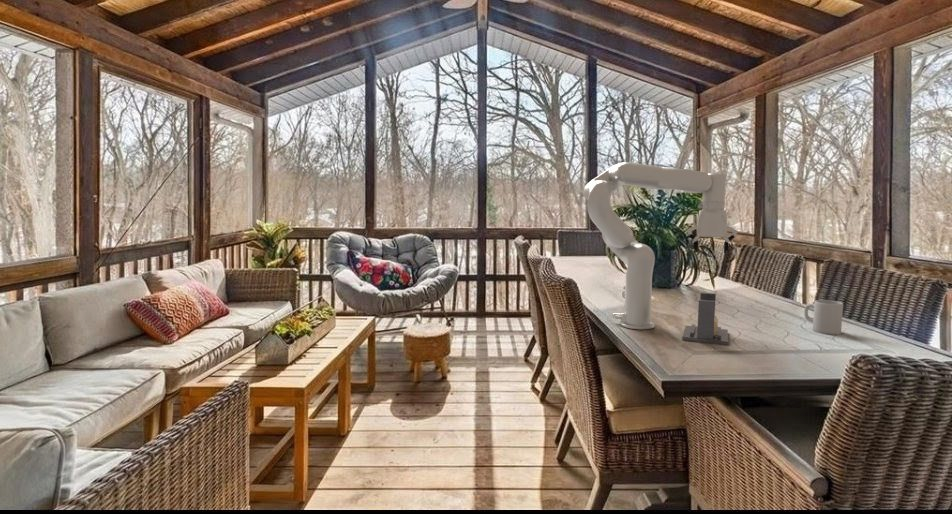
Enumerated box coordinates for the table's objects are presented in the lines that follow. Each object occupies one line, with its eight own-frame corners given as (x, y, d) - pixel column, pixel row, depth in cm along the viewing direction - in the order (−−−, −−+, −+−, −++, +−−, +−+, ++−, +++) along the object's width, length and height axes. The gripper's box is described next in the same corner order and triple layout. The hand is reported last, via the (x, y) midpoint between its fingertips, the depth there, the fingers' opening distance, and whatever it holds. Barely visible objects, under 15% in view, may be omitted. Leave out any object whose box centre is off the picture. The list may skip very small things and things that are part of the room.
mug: (845, 332, 180) (847, 302, 178) (834, 336, 175) (836, 305, 174) (809, 325, 190) (811, 297, 188) (797, 328, 185) (799, 299, 184)
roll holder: (682, 340, 171) (684, 299, 169) (685, 328, 186) (687, 291, 184) (728, 345, 164) (730, 303, 163) (727, 332, 180) (729, 294, 178)
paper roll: (714, 340, 168) (719, 323, 167) (695, 334, 171) (700, 318, 169) (715, 331, 179) (719, 316, 178) (697, 326, 182) (702, 310, 180)
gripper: (687, 206, 185) (685, 252, 187) (739, 206, 178) (736, 254, 180) (688, 206, 192) (686, 250, 194) (738, 206, 185) (736, 252, 187)
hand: (710, 252), depth 187 cm, fingers open, 9 cm apart
